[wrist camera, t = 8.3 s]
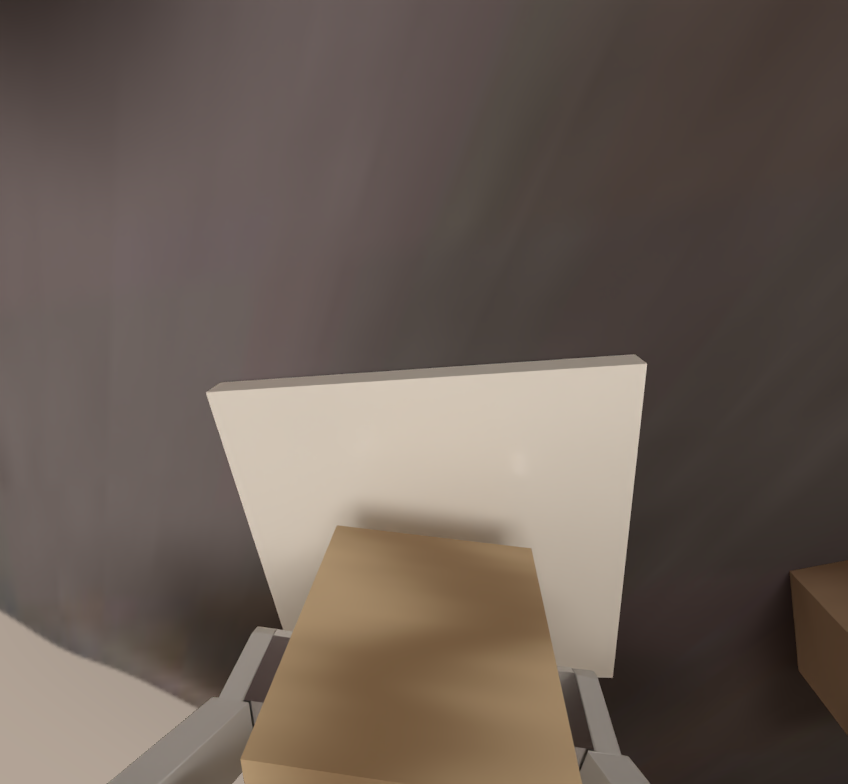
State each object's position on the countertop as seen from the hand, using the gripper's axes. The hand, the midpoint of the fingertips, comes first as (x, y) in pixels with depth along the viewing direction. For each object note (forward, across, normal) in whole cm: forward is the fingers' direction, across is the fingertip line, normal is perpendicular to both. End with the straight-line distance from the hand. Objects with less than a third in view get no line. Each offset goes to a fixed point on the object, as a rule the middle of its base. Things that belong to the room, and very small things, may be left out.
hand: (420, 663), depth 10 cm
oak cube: (+2, 0, 0) cm, 2 cm away
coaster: (+4, 0, 0) cm, 4 cm away
